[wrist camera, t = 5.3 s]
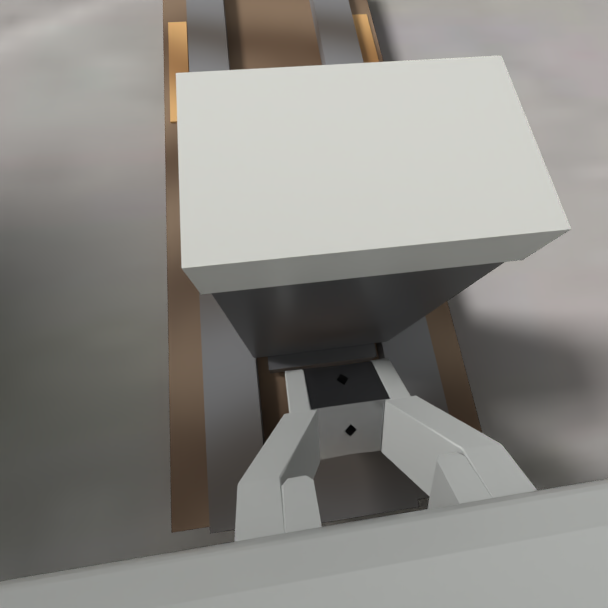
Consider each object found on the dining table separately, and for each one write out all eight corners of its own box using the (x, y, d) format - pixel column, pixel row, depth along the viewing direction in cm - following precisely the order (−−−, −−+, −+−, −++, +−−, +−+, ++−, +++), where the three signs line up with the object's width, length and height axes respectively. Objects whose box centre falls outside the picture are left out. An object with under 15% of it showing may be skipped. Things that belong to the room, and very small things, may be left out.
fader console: (467, 470, 15) (522, 489, 11) (187, 515, 14) (154, 550, 10) (350, -4, 23) (361, -75, 20) (173, 3, 22) (152, -70, 19)
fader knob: (383, 359, 14) (581, 255, 5) (255, 375, 13) (182, 299, 4) (365, 268, 15) (494, 38, 6) (247, 280, 14) (175, 53, 5)
